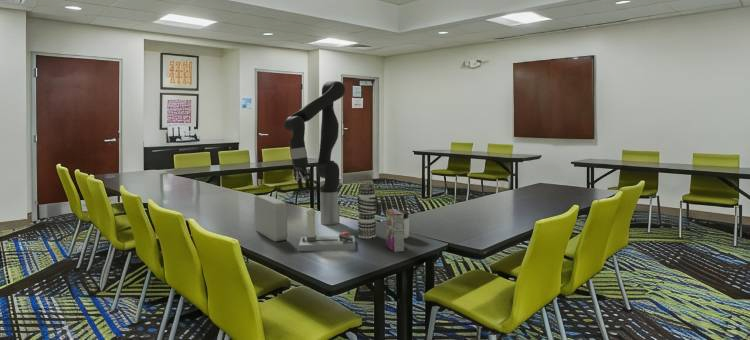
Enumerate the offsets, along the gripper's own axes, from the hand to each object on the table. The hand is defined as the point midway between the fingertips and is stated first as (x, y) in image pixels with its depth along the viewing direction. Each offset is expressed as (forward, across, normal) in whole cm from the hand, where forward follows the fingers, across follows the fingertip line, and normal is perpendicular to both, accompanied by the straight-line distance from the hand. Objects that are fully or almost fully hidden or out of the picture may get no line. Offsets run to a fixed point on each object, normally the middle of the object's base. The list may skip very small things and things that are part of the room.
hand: (304, 189), depth 233 cm
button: (+21, -30, -3) cm, 36 cm away
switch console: (+23, -29, +6) cm, 37 cm away
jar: (+27, -34, -29) cm, 53 cm away
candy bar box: (+27, -49, -15) cm, 58 cm away
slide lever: (+19, -25, +12) cm, 34 cm away
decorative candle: (+25, -24, -17) cm, 39 cm away
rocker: (+20, -36, +1) cm, 41 cm away
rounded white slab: (+19, +3, +20) cm, 28 cm away
